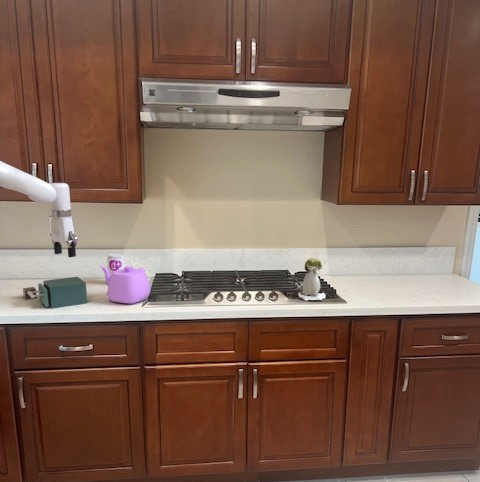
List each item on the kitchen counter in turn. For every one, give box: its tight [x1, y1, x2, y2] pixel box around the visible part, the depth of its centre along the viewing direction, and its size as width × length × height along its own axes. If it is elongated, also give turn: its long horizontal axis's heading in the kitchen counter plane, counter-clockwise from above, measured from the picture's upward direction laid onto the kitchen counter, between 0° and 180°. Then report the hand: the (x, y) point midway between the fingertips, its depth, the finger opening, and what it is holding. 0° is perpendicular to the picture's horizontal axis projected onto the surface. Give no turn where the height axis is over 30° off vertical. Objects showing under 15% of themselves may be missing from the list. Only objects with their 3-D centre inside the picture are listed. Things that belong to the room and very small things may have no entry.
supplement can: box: [106, 253, 126, 275], centre depth 228 cm, size 8×8×15 cm
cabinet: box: [42, 276, 88, 309], centre depth 200 cm, size 15×13×9 cm
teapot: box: [99, 265, 151, 305], centre depth 206 cm, size 23×21×15 cm
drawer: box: [27, 283, 51, 308], centre depth 197 cm, size 18×11×7 cm, turn 124°
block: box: [22, 286, 38, 300], centre depth 204 cm, size 5×5×5 cm
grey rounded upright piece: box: [297, 257, 327, 302], centre depth 211 cm, size 12×13×18 cm
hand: (65, 255), depth 194 cm, fingers open, 9 cm apart
